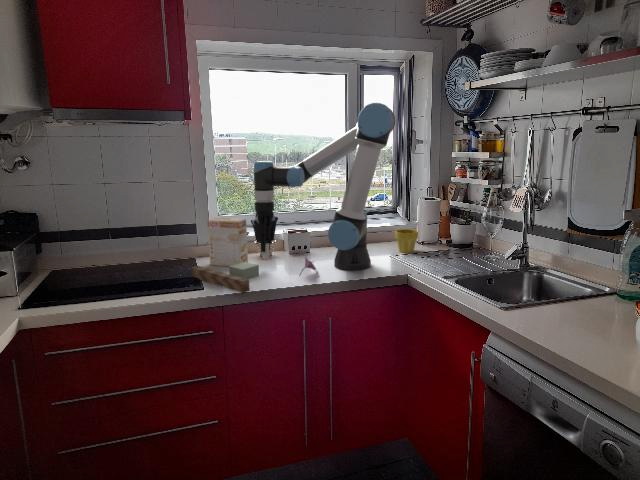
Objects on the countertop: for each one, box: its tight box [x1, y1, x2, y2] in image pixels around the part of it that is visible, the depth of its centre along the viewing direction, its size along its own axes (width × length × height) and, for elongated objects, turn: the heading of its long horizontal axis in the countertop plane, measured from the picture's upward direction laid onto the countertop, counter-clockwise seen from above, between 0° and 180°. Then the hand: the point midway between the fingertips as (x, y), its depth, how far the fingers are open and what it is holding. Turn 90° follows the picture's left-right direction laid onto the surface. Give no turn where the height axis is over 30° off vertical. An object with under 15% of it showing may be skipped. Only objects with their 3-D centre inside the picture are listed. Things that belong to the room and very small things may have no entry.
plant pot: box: [394, 228, 419, 254], centre depth 210 cm, size 10×10×10 cm
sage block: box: [228, 262, 260, 280], centre depth 173 cm, size 8×8×4 cm
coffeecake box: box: [206, 217, 249, 267], centre depth 189 cm, size 15×7×20 cm, turn 69°
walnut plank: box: [190, 265, 251, 293], centre depth 164 cm, size 30×3×4 cm, turn 50°
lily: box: [299, 251, 320, 277], centre depth 173 cm, size 12×12×10 cm
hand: (265, 259), depth 182 cm, fingers closed
